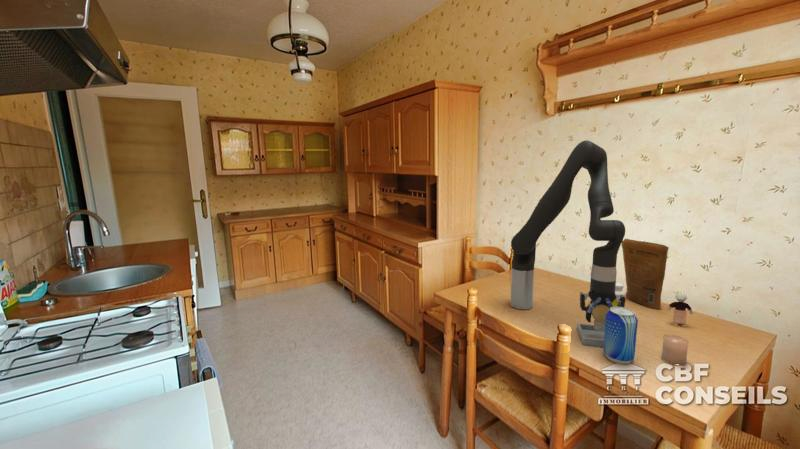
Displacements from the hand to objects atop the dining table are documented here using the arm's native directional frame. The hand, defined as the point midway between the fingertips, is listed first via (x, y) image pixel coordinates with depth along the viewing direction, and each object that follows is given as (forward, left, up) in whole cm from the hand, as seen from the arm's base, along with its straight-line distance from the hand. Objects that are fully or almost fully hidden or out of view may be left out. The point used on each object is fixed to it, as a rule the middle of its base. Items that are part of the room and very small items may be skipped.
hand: (600, 322), depth 121 cm
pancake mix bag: (+25, +39, -6) cm, 46 cm away
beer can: (+3, -12, -6) cm, 14 cm away
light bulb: (0, 0, -3) cm, 3 cm away
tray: (0, 0, -6) cm, 6 cm away
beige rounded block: (+19, -9, -6) cm, 22 cm away
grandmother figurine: (+31, +19, -6) cm, 37 cm away
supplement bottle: (+11, +24, -6) cm, 27 cm away
